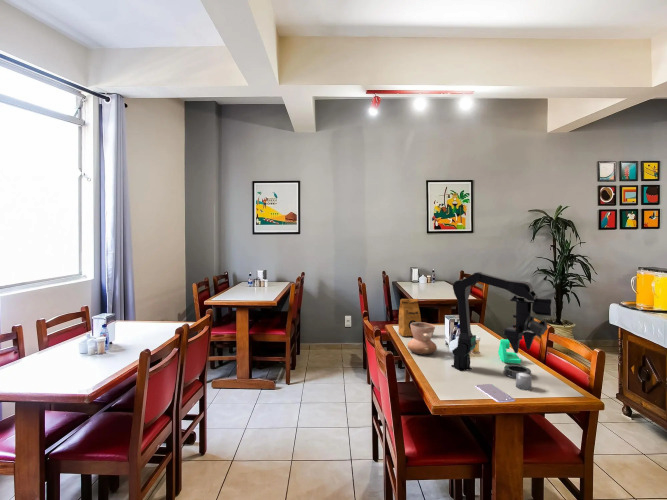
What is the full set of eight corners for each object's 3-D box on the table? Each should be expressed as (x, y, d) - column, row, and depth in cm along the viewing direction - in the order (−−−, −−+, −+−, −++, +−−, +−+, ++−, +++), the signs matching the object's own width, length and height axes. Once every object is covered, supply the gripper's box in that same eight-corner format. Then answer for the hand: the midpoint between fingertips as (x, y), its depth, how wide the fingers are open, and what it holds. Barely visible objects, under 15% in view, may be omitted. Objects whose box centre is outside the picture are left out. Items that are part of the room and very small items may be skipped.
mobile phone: (491, 383, 149) (516, 399, 135) (491, 385, 149) (516, 402, 135) (474, 384, 148) (497, 400, 133) (473, 386, 148) (497, 403, 133)
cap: (524, 391, 143) (524, 378, 143) (512, 386, 148) (513, 373, 148) (534, 389, 145) (535, 376, 145) (522, 384, 150) (523, 371, 150)
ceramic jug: (440, 357, 182) (441, 328, 181) (411, 357, 182) (412, 328, 181) (430, 347, 200) (431, 321, 199) (403, 346, 200) (404, 320, 199)
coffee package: (422, 337, 218) (423, 300, 217) (401, 337, 217) (402, 300, 216) (416, 333, 228) (417, 297, 227) (397, 333, 226) (397, 297, 226)
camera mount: (521, 366, 172) (522, 343, 172) (503, 364, 174) (504, 342, 173) (514, 357, 184) (515, 337, 183) (498, 356, 185) (498, 335, 185)
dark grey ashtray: (518, 381, 153) (518, 374, 153) (497, 372, 163) (497, 366, 163) (537, 377, 157) (538, 371, 157) (516, 368, 167) (516, 363, 167)
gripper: (531, 319, 140) (530, 360, 140) (555, 313, 150) (554, 352, 151) (503, 314, 149) (502, 353, 149) (527, 309, 159) (526, 345, 160)
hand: (522, 351), depth 152 cm, fingers open, 9 cm apart
